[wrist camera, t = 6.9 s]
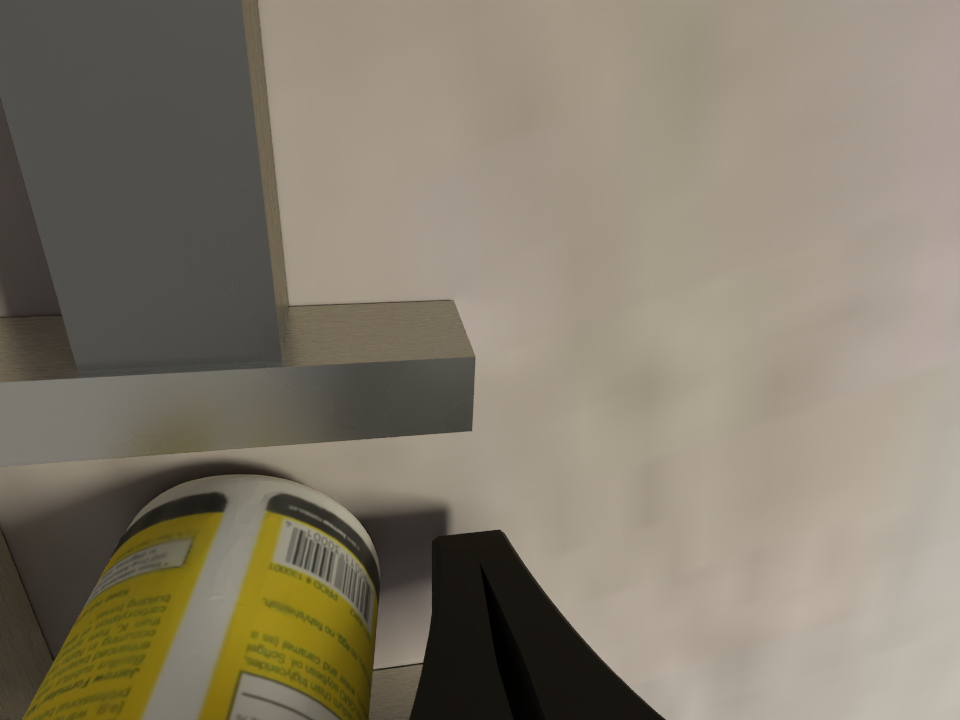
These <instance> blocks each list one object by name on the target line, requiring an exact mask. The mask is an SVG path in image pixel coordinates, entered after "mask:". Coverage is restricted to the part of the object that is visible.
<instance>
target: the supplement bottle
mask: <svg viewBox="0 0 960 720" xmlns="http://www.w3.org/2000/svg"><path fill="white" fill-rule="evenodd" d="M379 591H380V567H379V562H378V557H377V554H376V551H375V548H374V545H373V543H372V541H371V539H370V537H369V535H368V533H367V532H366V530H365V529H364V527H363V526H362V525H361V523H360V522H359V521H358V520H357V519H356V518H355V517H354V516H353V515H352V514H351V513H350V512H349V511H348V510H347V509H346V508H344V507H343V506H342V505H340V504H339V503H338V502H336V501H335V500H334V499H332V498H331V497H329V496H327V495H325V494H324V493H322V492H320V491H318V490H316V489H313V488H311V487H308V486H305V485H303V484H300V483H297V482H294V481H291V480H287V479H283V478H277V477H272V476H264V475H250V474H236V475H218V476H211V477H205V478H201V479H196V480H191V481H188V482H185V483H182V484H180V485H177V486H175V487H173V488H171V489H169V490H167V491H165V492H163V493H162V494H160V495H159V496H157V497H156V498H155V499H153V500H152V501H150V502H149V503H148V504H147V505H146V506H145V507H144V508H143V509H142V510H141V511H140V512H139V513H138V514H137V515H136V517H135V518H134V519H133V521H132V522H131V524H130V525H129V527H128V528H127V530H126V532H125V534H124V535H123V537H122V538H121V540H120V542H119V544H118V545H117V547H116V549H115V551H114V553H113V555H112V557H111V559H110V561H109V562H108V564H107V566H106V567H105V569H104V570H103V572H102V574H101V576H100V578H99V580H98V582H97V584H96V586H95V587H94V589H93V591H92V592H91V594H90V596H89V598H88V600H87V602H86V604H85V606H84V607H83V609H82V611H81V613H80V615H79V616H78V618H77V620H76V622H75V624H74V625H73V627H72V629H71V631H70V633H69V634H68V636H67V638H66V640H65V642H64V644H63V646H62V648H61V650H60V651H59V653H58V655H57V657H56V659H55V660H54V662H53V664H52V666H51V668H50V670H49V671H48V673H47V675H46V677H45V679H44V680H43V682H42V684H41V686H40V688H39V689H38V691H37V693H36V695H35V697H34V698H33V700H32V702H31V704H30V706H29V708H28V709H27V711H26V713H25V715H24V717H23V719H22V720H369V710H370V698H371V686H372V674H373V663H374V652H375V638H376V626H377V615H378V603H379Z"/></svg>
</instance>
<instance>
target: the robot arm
mask: <svg viewBox="0 0 960 720" xmlns="http://www.w3.org/2000/svg"><path fill="white" fill-rule="evenodd" d="M409 720H666V719H664V718H663V717H662V716H661V715H659V714H658V713H657V712H656V711H655V710H654V709H653V708H651V707H650V706H649V705H648V704H647V703H646V702H645V701H644V700H643V699H642V698H641V697H639V696H638V695H637V694H636V693H635V692H634V691H633V690H632V689H631V688H630V687H629V686H628V685H627V684H626V683H625V682H624V681H623V680H622V679H621V678H620V677H618V676H617V675H616V674H615V673H614V672H613V671H612V670H611V669H610V668H609V666H608V665H607V664H606V663H605V662H604V661H603V660H602V659H601V658H600V657H599V656H598V655H597V654H596V653H595V652H594V651H593V650H592V648H591V647H590V646H589V645H588V644H587V643H586V642H585V641H584V639H583V638H582V637H581V636H580V635H579V634H578V633H577V632H576V630H575V629H574V628H573V627H572V626H571V624H570V623H569V622H568V621H567V620H566V619H565V617H564V616H563V615H562V614H561V612H560V611H559V610H558V608H557V607H556V606H555V605H554V603H553V602H552V601H551V600H550V598H549V597H548V596H547V595H546V593H545V592H544V591H543V589H542V588H541V587H540V585H539V584H538V583H537V581H536V580H535V578H534V577H533V576H532V574H531V573H530V571H529V570H528V569H527V567H526V566H525V564H524V563H523V561H522V560H521V559H520V557H519V556H518V554H517V552H516V551H515V549H514V548H513V546H512V545H511V543H510V541H509V540H508V538H507V536H506V535H505V533H503V532H502V531H501V530H492V531H483V532H474V533H465V534H456V535H447V536H438V537H437V538H436V539H435V540H433V541H432V616H431V624H430V631H429V637H428V642H427V647H426V652H425V657H424V662H423V667H422V671H421V676H420V680H419V684H418V688H417V692H416V696H415V700H414V704H413V707H412V711H411V714H410V718H409Z"/></svg>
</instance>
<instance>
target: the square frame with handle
mask: <svg viewBox="0 0 960 720" xmlns="http://www.w3.org/2000/svg"><path fill="white" fill-rule="evenodd" d="M0 99H1V102H2V106H3V109H4V113H5V116H6V120H7V123H8V127H9V130H10V134H11V138H12V141H13V145H14V148H15V152H16V155H17V159H18V162H19V166H20V169H21V173H22V176H23V180H24V183H25V187H26V190H27V194H28V197H29V201H30V204H31V208H32V212H33V215H34V219H35V222H36V226H37V229H38V233H39V236H40V240H41V243H42V247H43V250H44V254H45V257H46V261H47V264H48V268H49V271H50V275H51V278H52V282H53V286H54V289H55V293H56V296H57V300H58V303H59V307H60V310H61V314H62V316H36V317H9V318H0V467H3V466H16V465H29V464H42V463H56V462H69V461H82V460H95V459H109V458H122V457H135V456H148V455H161V454H175V453H188V452H201V451H214V450H227V449H241V448H254V447H267V446H280V445H294V444H307V443H320V442H333V441H346V440H360V439H373V438H386V437H399V436H412V435H426V434H439V433H452V432H465V431H472V420H473V398H474V376H475V354H474V352H473V349H472V347H471V344H470V341H469V339H468V336H467V334H466V331H465V329H464V326H463V323H462V321H461V318H460V316H459V313H458V310H457V308H456V305H455V303H454V300H453V301H427V302H401V303H375V304H349V305H323V306H296V307H289V301H288V292H287V282H286V272H285V262H284V253H283V243H282V233H281V223H280V214H279V204H278V194H277V185H276V175H275V165H274V155H273V146H272V136H271V126H270V117H269V107H268V97H267V87H266V78H265V68H264V58H263V49H262V39H261V29H260V19H259V10H258V0H0ZM52 664H53V659H52V657H51V654H50V652H49V650H48V647H47V645H46V642H45V640H44V637H43V635H42V632H41V630H40V627H39V625H38V622H37V620H36V617H35V615H34V612H33V610H32V607H31V605H30V602H29V600H28V597H27V595H26V592H25V590H24V587H23V585H22V582H21V580H20V577H19V575H18V572H17V570H16V567H15V565H14V562H13V560H12V557H11V555H10V552H9V550H8V547H7V545H6V542H5V540H4V537H3V535H2V532H1V530H0V720H22V719H23V717H24V715H25V713H26V711H27V709H28V708H29V706H30V704H31V702H32V700H33V698H34V697H35V695H36V693H37V691H38V689H39V688H40V686H41V684H42V682H43V680H44V679H45V677H46V675H47V673H48V671H49V670H50V668H51V666H52ZM422 667H423V664H421V665H414V666H407V667H400V668H392V669H385V670H378V671H373V674H372V686H371V698H370V710H369V720H409V718H410V714H411V711H412V707H413V704H414V700H415V696H416V692H417V688H418V684H419V680H420V676H421V671H422Z"/></svg>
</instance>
